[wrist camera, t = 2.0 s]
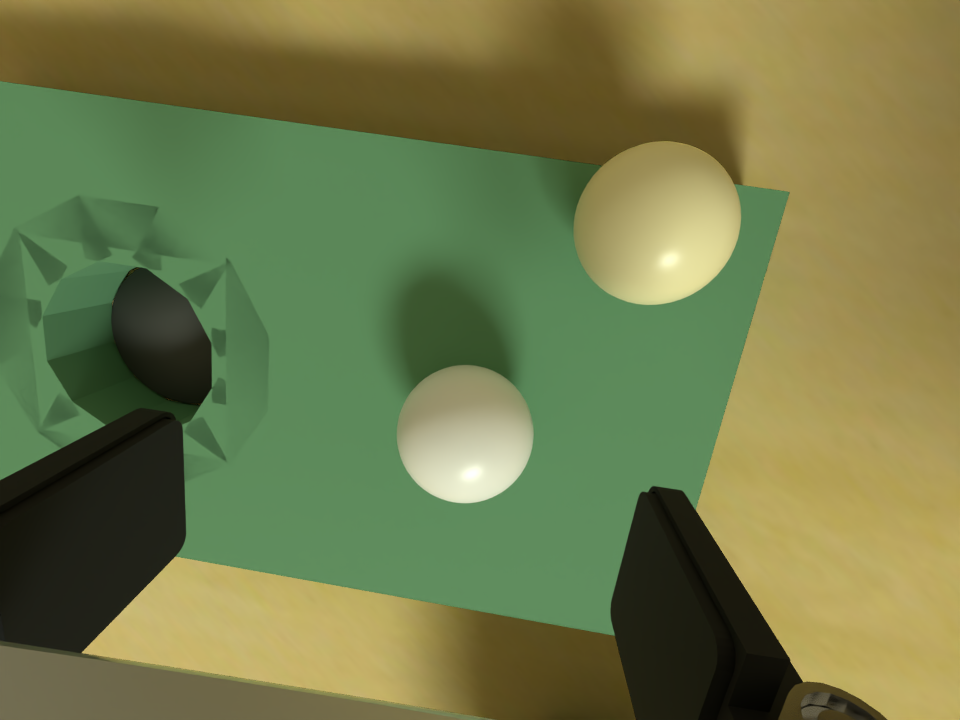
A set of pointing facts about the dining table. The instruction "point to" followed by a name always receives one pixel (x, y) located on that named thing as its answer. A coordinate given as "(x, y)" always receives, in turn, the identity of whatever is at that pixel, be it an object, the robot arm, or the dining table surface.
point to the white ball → (465, 434)
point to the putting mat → (350, 342)
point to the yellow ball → (657, 223)
